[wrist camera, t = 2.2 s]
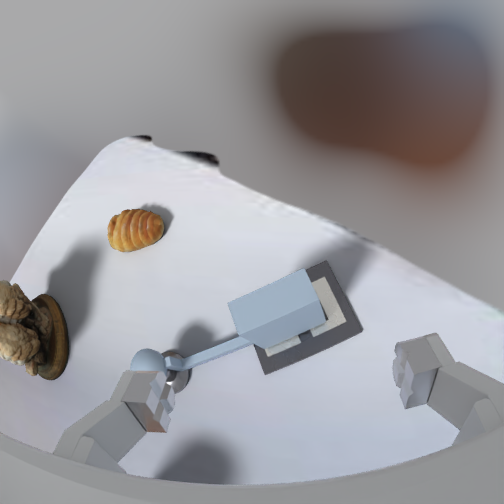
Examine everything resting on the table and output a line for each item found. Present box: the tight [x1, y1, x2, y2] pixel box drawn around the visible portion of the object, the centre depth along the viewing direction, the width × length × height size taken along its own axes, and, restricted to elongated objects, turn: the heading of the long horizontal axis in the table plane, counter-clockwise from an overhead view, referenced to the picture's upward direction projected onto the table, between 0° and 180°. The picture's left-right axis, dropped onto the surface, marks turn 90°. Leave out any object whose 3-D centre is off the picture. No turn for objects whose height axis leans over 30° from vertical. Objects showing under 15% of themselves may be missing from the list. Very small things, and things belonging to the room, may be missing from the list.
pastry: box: [108, 209, 164, 252], centre depth 43 cm, size 9×7×4 cm
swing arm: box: [130, 268, 326, 376], centre depth 29 cm, size 21×4×8 cm, turn 110°
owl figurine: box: [0, 281, 69, 380], centre depth 35 cm, size 18×12×17 cm, turn 43°
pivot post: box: [161, 352, 189, 394], centre depth 32 cm, size 5×5×4 cm
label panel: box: [254, 261, 362, 375], centre depth 32 cm, size 9×11×1 cm
